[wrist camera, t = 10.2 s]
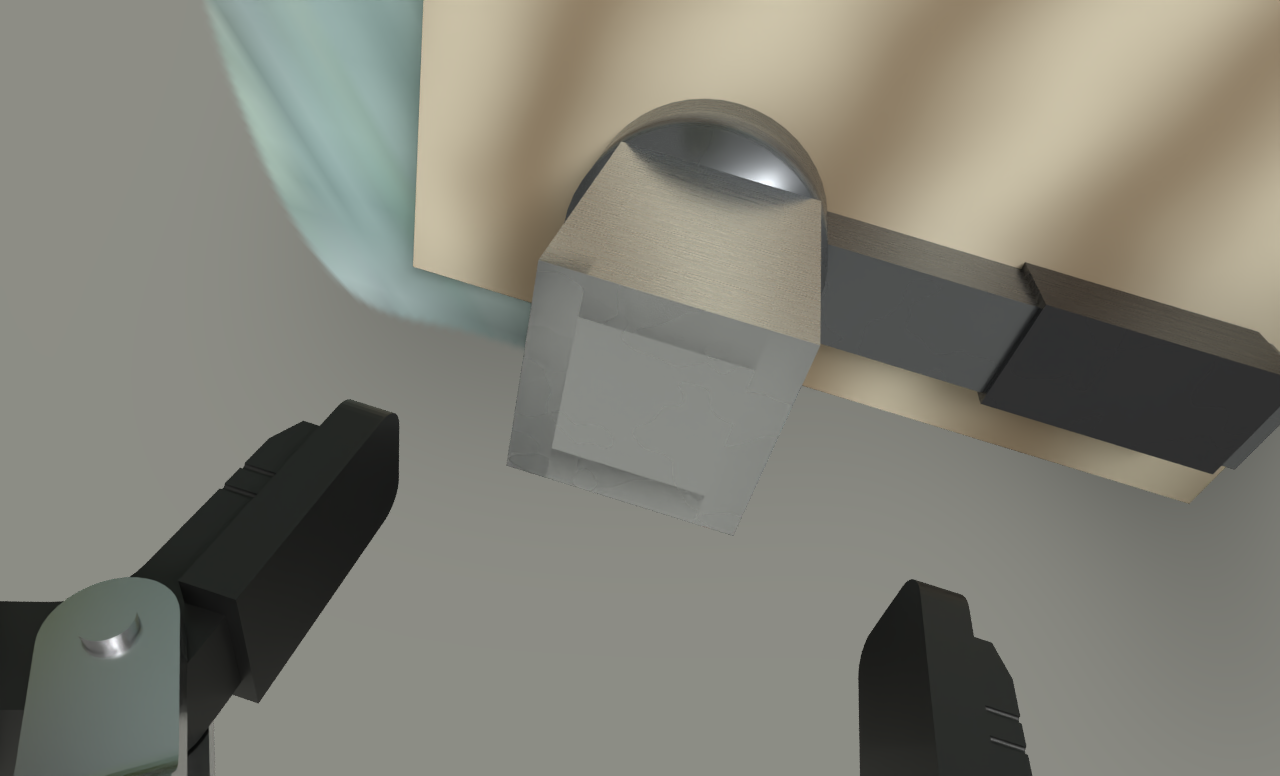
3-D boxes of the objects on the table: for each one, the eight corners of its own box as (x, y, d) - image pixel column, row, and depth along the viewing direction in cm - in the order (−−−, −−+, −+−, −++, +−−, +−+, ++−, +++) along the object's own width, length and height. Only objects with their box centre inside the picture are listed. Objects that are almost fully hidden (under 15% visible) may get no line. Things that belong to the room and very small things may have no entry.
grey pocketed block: (821, 200, 16) (820, 345, 12) (755, 365, 19) (733, 535, 14) (621, 141, 16) (538, 259, 12) (585, 313, 19) (506, 465, 14)
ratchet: (1332, 279, 17) (1561, 471, 12) (1156, 469, 21) (1270, 680, 16) (612, 66, 18) (520, 158, 12) (569, 290, 22) (484, 435, 16)
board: (1774, -156, 13) (1849, -158, 12) (1173, 476, 23) (1189, 503, 22) (471, -518, 14) (444, -546, 13) (430, 249, 23) (412, 266, 22)
